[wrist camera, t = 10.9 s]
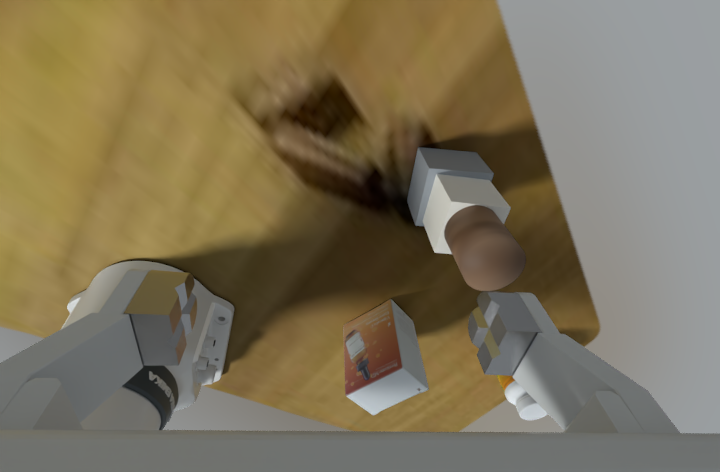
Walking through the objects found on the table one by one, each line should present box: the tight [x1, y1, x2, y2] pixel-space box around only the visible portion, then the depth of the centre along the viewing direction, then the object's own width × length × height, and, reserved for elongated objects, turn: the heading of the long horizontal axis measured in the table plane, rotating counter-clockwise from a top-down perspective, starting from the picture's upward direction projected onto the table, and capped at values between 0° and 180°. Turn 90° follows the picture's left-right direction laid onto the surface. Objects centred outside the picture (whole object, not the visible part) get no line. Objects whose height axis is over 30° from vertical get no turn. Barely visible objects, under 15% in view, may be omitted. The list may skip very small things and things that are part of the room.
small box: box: [343, 299, 429, 415], centre depth 47 cm, size 8×6×10 cm
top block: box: [423, 174, 511, 254], centre depth 33 cm, size 5×5×5 cm
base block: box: [407, 147, 494, 226], centre depth 37 cm, size 6×6×5 cm
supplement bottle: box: [497, 375, 548, 420], centre depth 52 cm, size 5×5×10 cm
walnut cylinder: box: [444, 205, 526, 291], centre depth 29 cm, size 4×4×5 cm
